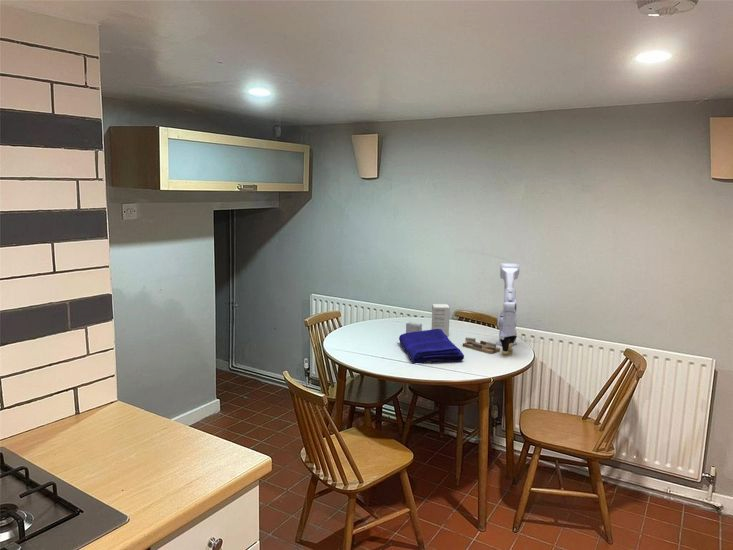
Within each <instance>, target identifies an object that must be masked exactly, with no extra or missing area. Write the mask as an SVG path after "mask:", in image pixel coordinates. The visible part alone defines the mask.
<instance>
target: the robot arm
mask: <svg viewBox="0 0 733 550" xmlns="http://www.w3.org/2000/svg"><path fill="white" fill-rule="evenodd" d="M520 267H521V266H520V264H519V263H508V262H507V263H503V262H501V263H500V266H499V277H500V279H502V280H503V282H504V283H503V284H504V288H503V302H502V310H500V311H499V312H498V313H497V325H496V326H497V327H498V328H499V334H498V335H499V336H498V341H497V342H495V343H496V345H499V346H501V347H502V348H503V351H506V352H507V351H508V346H509V343H510V342H512V343H513V346H514V345H517V344H518V342H517V332H518V331H517V329H516V328H517V320H518V319H517V311H518V310H517V309H518V308H517V307H518V305H517V299H516V297H517V296H516V295H517V294H516V290H515V288H514V284H515V283H514V282H515V280H518V278H519V275H520Z"/></svg>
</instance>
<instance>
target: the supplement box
mask: <svg viewBox="0 0 733 550" xmlns="http://www.w3.org/2000/svg"><path fill="white" fill-rule="evenodd" d="M431 305H432V306H431V330H433V329H442V331H443V332H444V334H446V335H447V336H448V337H449V335H450V314H451V312H450V309H451V308H450V306H449V305H448V303H433V304H431Z"/></svg>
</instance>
